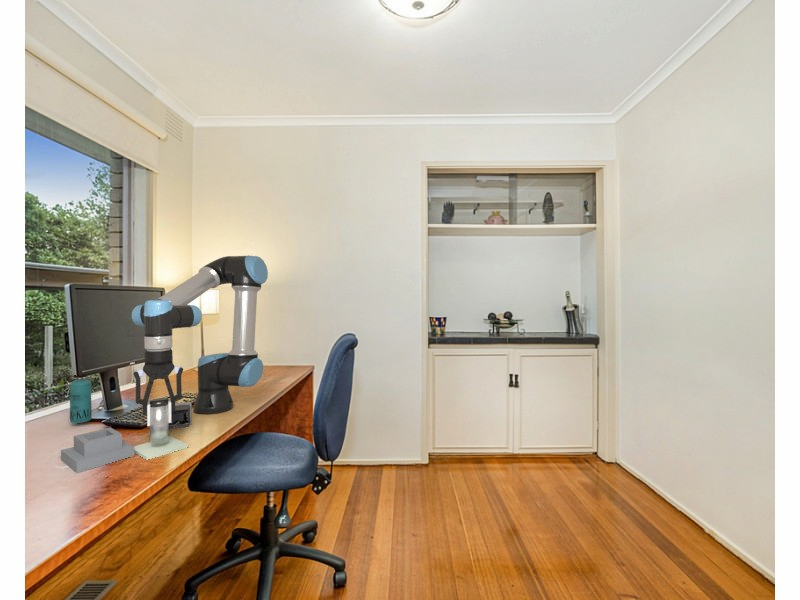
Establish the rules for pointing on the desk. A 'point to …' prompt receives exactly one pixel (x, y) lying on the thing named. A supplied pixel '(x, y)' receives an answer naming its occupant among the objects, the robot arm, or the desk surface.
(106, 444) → the socket block
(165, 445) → the sage board
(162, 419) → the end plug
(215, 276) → the robot arm
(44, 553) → the desk surface
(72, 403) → the beverage bottle
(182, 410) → the electrical switch
